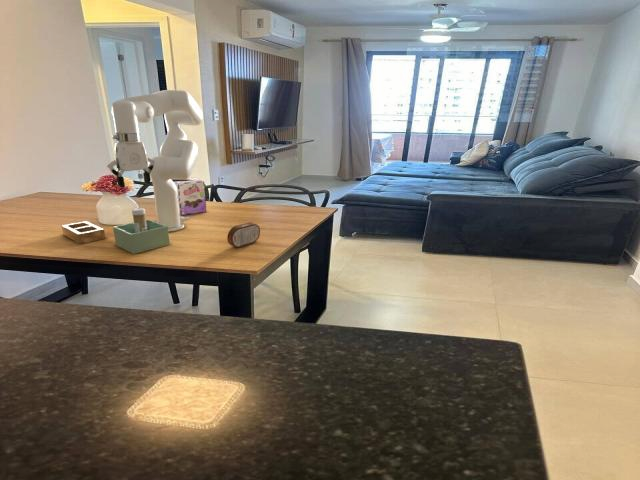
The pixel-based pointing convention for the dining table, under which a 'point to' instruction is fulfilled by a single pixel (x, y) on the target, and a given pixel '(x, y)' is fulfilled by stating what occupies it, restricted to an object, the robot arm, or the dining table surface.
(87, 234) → the rack
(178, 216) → the robot arm
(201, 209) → the candy box
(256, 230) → the tin
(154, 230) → the basin
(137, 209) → the sprinkles bottle
